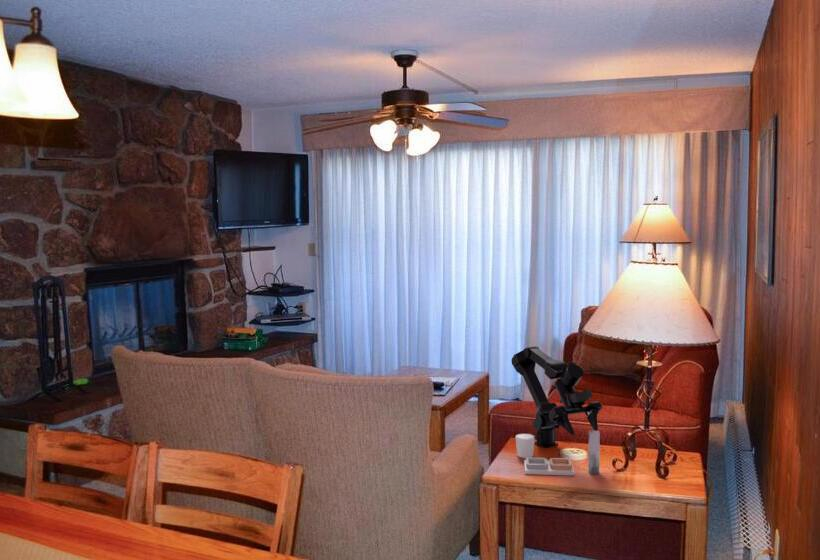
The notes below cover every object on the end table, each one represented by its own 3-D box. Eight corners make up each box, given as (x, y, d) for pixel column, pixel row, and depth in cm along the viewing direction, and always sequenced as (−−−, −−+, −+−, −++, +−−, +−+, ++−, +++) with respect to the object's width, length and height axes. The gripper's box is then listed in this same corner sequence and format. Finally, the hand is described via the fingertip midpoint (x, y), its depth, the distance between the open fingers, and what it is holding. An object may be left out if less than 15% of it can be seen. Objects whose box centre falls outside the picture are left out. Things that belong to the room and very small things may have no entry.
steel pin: (593, 469, 248) (593, 429, 246) (601, 473, 245) (602, 432, 243) (585, 472, 246) (586, 431, 244) (594, 475, 243) (594, 434, 241)
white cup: (536, 458, 259) (536, 439, 259) (516, 458, 260) (516, 439, 259) (533, 451, 266) (533, 433, 266) (514, 451, 266) (514, 433, 266)
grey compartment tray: (524, 463, 255) (524, 455, 254) (571, 464, 253) (571, 456, 253) (525, 474, 245) (525, 466, 245) (574, 475, 243) (574, 467, 243)
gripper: (553, 384, 249) (570, 424, 240) (599, 378, 255) (618, 418, 246) (541, 401, 257) (557, 441, 248) (586, 395, 263) (604, 434, 254)
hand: (585, 433), depth 249 cm, fingers open, 9 cm apart
